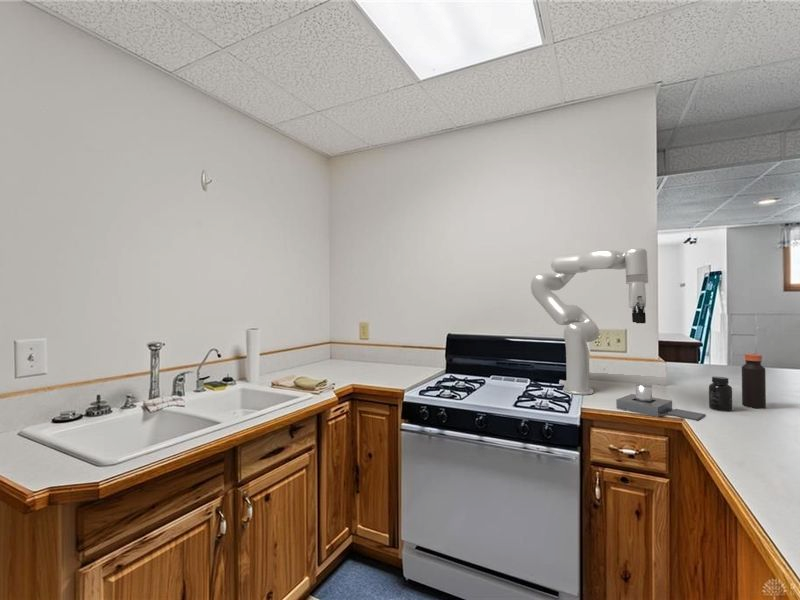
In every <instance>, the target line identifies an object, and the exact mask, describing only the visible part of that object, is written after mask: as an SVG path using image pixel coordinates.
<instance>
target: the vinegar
mask: <svg viewBox="0 0 800 600" xmlns="http://www.w3.org/2000/svg"><path fill="white" fill-rule="evenodd" d="M744 361H745V364H743V365H742V366H741V404H742V406H743V405H744V407H746V406H747V407H746V408H750V407H752V408H751V409H758V408H763V409H765V408H766V407H767V399H766V397H767V394H766V391H767V390H766V389H767V388H766V386H767V385H766V379H767V378H766V368H765V367H764V366H763V365H762V362H763V356H762V354H757V353H745V354H744Z"/></svg>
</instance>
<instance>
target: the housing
mask: <svg viewBox="0 0 800 600" xmlns="http://www.w3.org/2000/svg"><path fill="white" fill-rule="evenodd" d="M615 404H616V408H617V409H618V410H622V411H627V412H631V413H636V414H642V415H647V416H650V417H655V418H659V417H661V416H663V415H665V414H667V413H668V412H670V411H672V410H673V401H672V400H670V399H663V398H659V397H658V398H657V397H653V396H652V403H646V402H640V401H636V393H631V394H628V395H624V396H622V397H620V398H617V399H616V403H615ZM616 408H615V409H616Z"/></svg>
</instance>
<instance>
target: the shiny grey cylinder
mask: <svg viewBox="0 0 800 600" xmlns="http://www.w3.org/2000/svg"><path fill="white" fill-rule="evenodd" d="M635 394H636V401H640V402H646V403H652V397H653V386H652V384H648V383H636V384H635Z"/></svg>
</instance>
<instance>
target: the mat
mask: <svg viewBox="0 0 800 600" xmlns="http://www.w3.org/2000/svg"><path fill="white" fill-rule="evenodd" d="M666 415H667V416H672V417H675V418H682V419H685V420H691V421H696V422H698V421H699V420H701V419H703V418H705V416H706V413H701V412H697V411H696V412H695V411H691V410H686V409H684V410H683V409H679V408H674V409H672V410H671V411H669V412H667V413H666Z"/></svg>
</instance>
